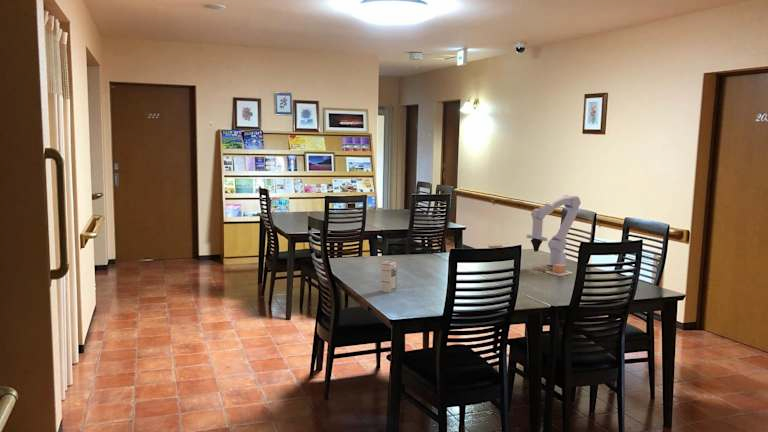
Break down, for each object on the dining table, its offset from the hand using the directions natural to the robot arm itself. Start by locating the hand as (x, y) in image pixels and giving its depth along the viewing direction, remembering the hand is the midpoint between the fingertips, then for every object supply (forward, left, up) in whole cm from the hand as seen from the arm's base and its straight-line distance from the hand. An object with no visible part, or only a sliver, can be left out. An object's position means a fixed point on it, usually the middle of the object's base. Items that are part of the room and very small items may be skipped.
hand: (536, 251), depth 378 cm
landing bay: (+2, +19, -9) cm, 21 cm away
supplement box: (+21, -13, -10) cm, 26 cm away
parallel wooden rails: (+2, +9, -9) cm, 13 cm away
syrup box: (+113, +6, -10) cm, 114 cm away
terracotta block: (+2, +20, -10) cm, 22 cm away
